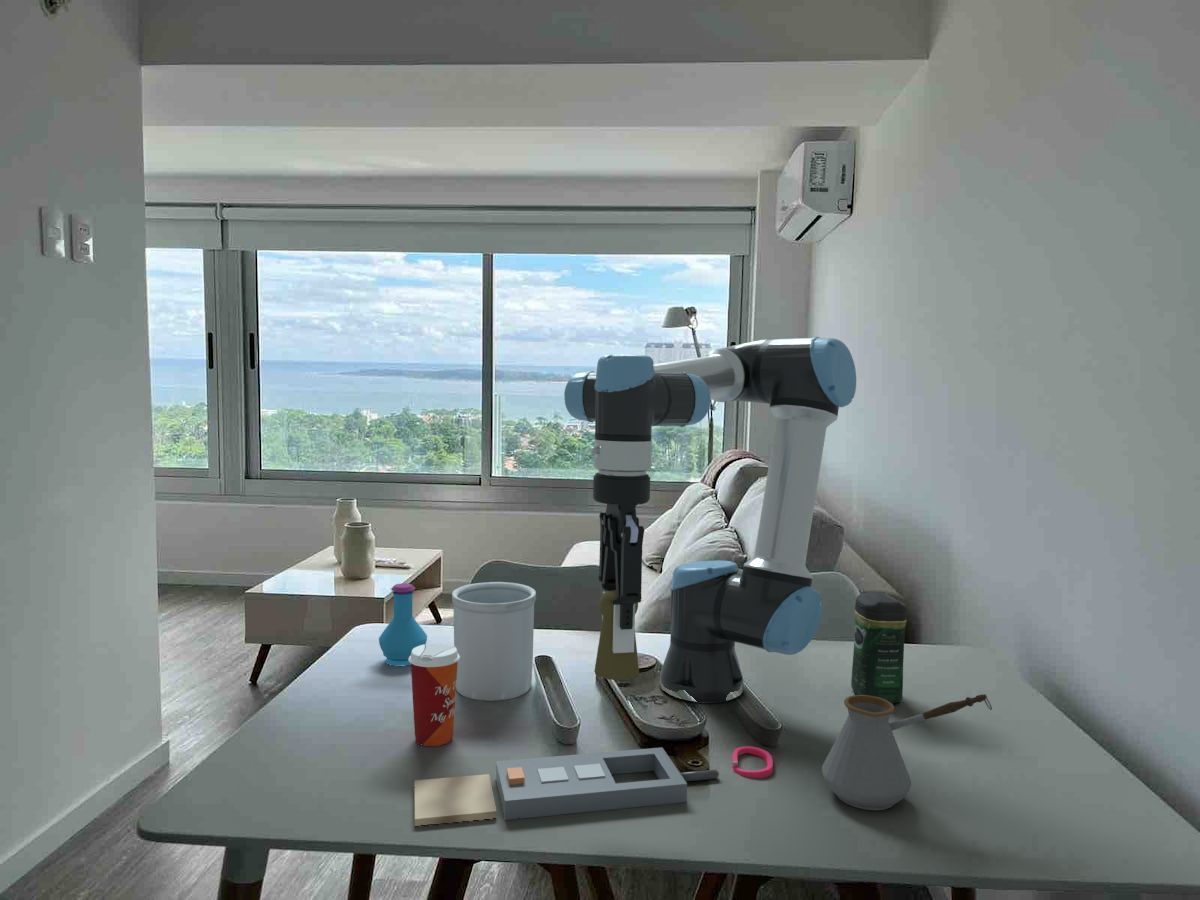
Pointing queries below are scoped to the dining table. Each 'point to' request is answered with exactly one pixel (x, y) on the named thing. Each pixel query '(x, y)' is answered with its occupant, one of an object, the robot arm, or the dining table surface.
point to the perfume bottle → (401, 628)
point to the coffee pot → (874, 752)
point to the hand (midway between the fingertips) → (617, 644)
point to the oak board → (454, 800)
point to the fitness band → (754, 751)
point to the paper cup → (434, 692)
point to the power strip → (590, 783)
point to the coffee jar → (878, 646)
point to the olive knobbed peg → (607, 661)
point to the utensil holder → (494, 639)
